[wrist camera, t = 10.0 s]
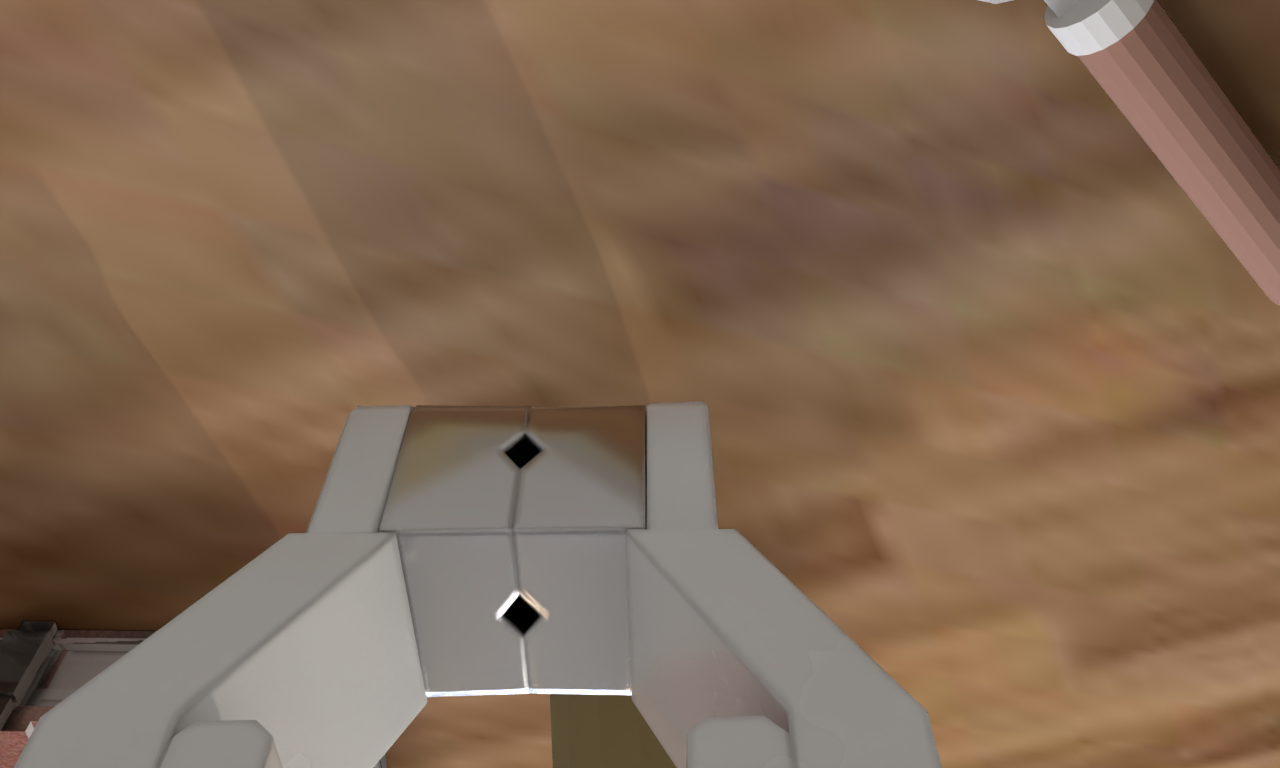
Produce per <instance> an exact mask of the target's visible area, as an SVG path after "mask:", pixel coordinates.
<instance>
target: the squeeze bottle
mask: <svg viewBox="0 0 1280 768" xmlns="http://www.w3.org/2000/svg"><path fill="white" fill-rule="evenodd" d="M550 711H551V735H552V759H553V768H676V766H675V765H674V763H673V762H672V760H671V759H670V757H669V755H668V754H667V752H666V751H665V749H664V748H663V746H662V745H661V743H660V742H659V740H658V739H657V737H656V736H655V734H654V733H653V731H652V730H651V728H650V727H649V725H648V724H647V722H646V721H645V719H644V718H643V716H642V715H641V713H640V712H639V710H638V709H637V707H636V706H635V704H634V703H633V701H632V695H594V694H550Z"/></svg>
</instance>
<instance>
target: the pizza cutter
mask: <svg viewBox="0 0 1280 768" xmlns="http://www.w3.org/2000/svg"><path fill="white" fill-rule="evenodd" d="M979 1H984V2H989V3H994V4H998V3H1003V2H1007V1H1012V0H979ZM1044 1H1045V2H1046V3H1047V7H1046V11H1045V15H1044V20H1045V22H1046V25H1047V26H1048V28H1049V29H1050V30H1051V31H1052V33H1053V34H1054V35H1055V36H1056V38H1057V39H1058V40H1059V42H1060V43H1061V44H1062V45H1063V47H1064V48H1065V49H1066V50H1067V52H1069V53H1071V54H1073V55H1075V56H1078V57H1079V59H1080V60H1081V61H1082V62H1083V64H1084V65H1085V66H1086V67H1087V69H1088V70H1089V71H1090V72H1091V74H1092V75H1093V76H1094V77H1095V79H1096V80H1097V81H1098V83H1099V84H1100V85H1101V86H1102V88H1103V89H1104V90H1105V91H1106V93H1107V94H1108V95H1109V96H1110V98H1111V99H1112V100H1113V102H1114V103H1115V104H1116V105H1117V107H1118V108H1119V109H1120V110H1121V112H1122V113H1123V114H1124V115H1125V117H1126V118H1127V119H1128V121H1129V122H1130V123H1131V124H1132V126H1133V127H1134V128H1135V129H1136V131H1137V132H1138V133H1139V134H1140V136H1141V137H1142V138H1143V139H1144V141H1145V142H1146V143H1147V145H1148V146H1149V147H1150V148H1151V150H1152V151H1153V152H1154V153H1155V155H1156V156H1157V157H1158V158H1159V160H1160V161H1161V162H1162V164H1163V165H1164V166H1165V167H1166V169H1167V170H1168V171H1169V172H1170V174H1171V175H1172V176H1173V177H1174V179H1175V180H1176V181H1177V183H1178V184H1179V185H1180V186H1181V188H1182V189H1183V190H1184V191H1185V193H1186V194H1187V195H1188V196H1189V198H1190V199H1191V200H1192V201H1193V203H1194V204H1195V205H1196V207H1197V208H1198V209H1199V210H1200V212H1201V213H1202V214H1203V215H1204V217H1205V218H1206V219H1207V220H1208V222H1209V223H1210V224H1211V226H1212V227H1213V228H1214V229H1215V231H1216V232H1217V233H1218V234H1219V236H1220V237H1221V238H1222V239H1223V241H1224V242H1225V243H1226V245H1227V246H1228V247H1229V248H1230V250H1231V251H1232V252H1233V253H1234V255H1235V256H1236V257H1237V258H1238V260H1239V261H1240V262H1241V263H1242V265H1243V266H1244V267H1245V269H1246V270H1247V271H1248V272H1249V274H1250V275H1251V276H1252V277H1253V279H1254V280H1255V281H1256V282H1257V284H1258V285H1259V286H1260V288H1261V289H1262V290H1263V291H1264V293H1265V294H1266V295H1267V296H1268V298H1269V299H1271V300H1272V301H1273V302H1275V303H1276V304H1278V305H1279V306H1280V170H1279V169H1278V167H1277V166H1276V164H1275V163H1274V162H1273V160H1272V159H1271V158H1270V156H1269V155H1268V153H1267V152H1266V151H1265V149H1264V148H1263V146H1262V145H1261V144H1260V142H1259V141H1258V140H1257V138H1256V137H1255V135H1254V134H1253V133H1252V131H1251V130H1250V129H1249V127H1248V126H1247V124H1246V123H1245V122H1244V120H1243V119H1242V118H1241V116H1240V115H1239V113H1238V112H1237V111H1236V109H1235V108H1234V106H1233V105H1232V104H1231V102H1230V101H1229V100H1228V98H1227V97H1226V95H1225V94H1224V93H1223V91H1222V90H1221V89H1220V87H1219V86H1218V84H1217V83H1216V82H1215V80H1214V79H1213V77H1212V76H1211V75H1210V73H1209V72H1208V71H1207V69H1206V68H1205V66H1204V65H1203V64H1202V62H1201V61H1200V60H1199V58H1198V57H1197V55H1196V54H1195V53H1194V51H1193V50H1192V49H1191V47H1190V46H1189V44H1188V43H1187V42H1186V40H1185V39H1184V37H1183V36H1182V35H1181V33H1180V32H1179V31H1178V29H1177V28H1176V26H1175V25H1174V24H1173V22H1172V21H1171V20H1170V18H1169V17H1168V15H1167V14H1166V13H1165V11H1164V10H1163V9H1162V7H1161V6H1160V4H1159V3H1158V2H1157V0H1044Z"/></svg>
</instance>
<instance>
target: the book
mask: <svg viewBox="0 0 1280 768" xmlns="http://www.w3.org/2000/svg"><path fill="white" fill-rule="evenodd" d="M155 632H156V631H121V630H58V628H57V626H56V623H55V621H22V622H21V624H20V625H19V627H18V628H17V629H0V768H14V766H15V764H16V762H17V760H18V759H19V757H20V755H21V753H22V751H23V749H24V747H25V745H26V744H27V742H28V740H29V738H30V736H31V734H32V732H33V730H34V729H35V727H36V725H37V723H38V721H39V719H40V717H41V716H43V715H44V714H45V713H47V712H48V711H49V710H51V709H52V708H53V707H55V706H56V705H57V704H59V703H60V702H61V701H63V700H64V699H66V698H67V697H68V696H70V695H71V694H72V693H74V692H75V691H76V690H78V689H79V688H80V687H82V686H83V685H84V684H86V683H87V682H89V681H90V680H91V679H93V678H94V677H95V676H97V675H98V674H99V673H101V672H102V671H103V670H105V669H106V668H107V667H109V666H110V665H111V664H113V663H114V662H116V661H117V660H118V659H120V658H121V657H122V656H124V655H125V654H126V653H128V652H129V651H130V650H132V649H133V648H134V647H136V646H137V645H139V644H140V643H141V642H143V641H144V640H145V639H147V638H148V637H149V636H151V635H152V634H153V633H155ZM374 768H388V767H387V762H386V756H385V754H384V756H383V757H382V758H381V759H380V760H379V762H378V763H377V764H376V765H375V766H374Z"/></svg>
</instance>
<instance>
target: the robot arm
mask: <svg viewBox="0 0 1280 768" xmlns="http://www.w3.org/2000/svg"><path fill="white" fill-rule="evenodd" d="M646 445H647V458H646ZM524 693H538V694H594V695H632V701H633V703H634V704H635V706H636V707H637V709H638V710H639V712H640V713H641V715H642V716H643V718H644V719H645V721H646V722H647V724H648V725H649V727H650V728H651V730H652V731H653V733H654V734H655V736H656V737H657V739H658V740H659V742H660V743H661V745H662V746H663V748H664V749H665V751H666V752H667V754H668V755H669V757H670V759H671V760H672V762H673V763H674V765H675V766H676V768H942V767H941V763H940V759H939V755H938V752H937V748H936V744H935V740H934V736H933V732H932V728H931V724H930V720H929V716H928V712H927V710H925V709H924V708H923V707H922V706H921V705H920V704H919V703H918V702H917V701H916V700H915V699H914V698H913V697H912V696H911V695H910V694H909V693H908V692H907V691H906V690H904V689H903V688H902V687H901V686H900V685H899V684H898V683H897V682H896V681H895V680H894V679H893V678H892V677H891V676H890V675H889V674H888V673H887V672H886V671H884V670H883V669H882V668H881V667H880V666H879V665H878V664H877V663H876V662H875V661H874V660H873V659H872V658H871V657H870V656H869V655H868V654H867V653H866V652H864V651H863V650H862V649H861V648H860V647H859V646H858V645H857V644H856V643H855V642H854V641H853V640H852V639H851V638H850V637H849V636H848V635H847V634H846V633H845V632H843V631H842V630H841V629H840V628H839V627H838V626H837V625H836V624H835V623H834V622H833V621H832V620H831V619H830V618H829V617H828V616H827V615H826V614H825V613H823V612H822V611H821V610H820V609H819V608H818V607H817V606H816V605H815V604H814V603H813V602H812V601H811V600H810V599H809V598H808V597H807V596H806V595H805V594H804V593H802V592H801V591H800V590H799V589H798V588H797V587H796V586H795V585H794V584H793V583H792V582H791V581H790V580H789V579H788V578H787V577H786V576H785V575H784V574H782V573H781V572H780V571H779V570H778V569H777V568H776V567H775V566H774V565H773V564H772V563H771V562H770V561H769V560H768V559H767V558H766V557H765V556H764V555H762V554H761V553H760V552H759V551H758V550H757V549H756V548H755V547H754V546H753V545H752V544H751V543H750V542H749V541H748V540H747V539H746V538H745V537H744V536H743V535H741V534H740V533H739V532H738V531H737V530H736V529H718V520H717V508H716V496H715V484H714V472H713V460H712V447H711V435H710V423H709V411H708V407H707V405H706V404H705V402H704V401H699V402H674V403H650V404H647V413H646V412H645V406H590V407H535V408H532V407H531V406H434V405H417V406H416V407H413V406H410V405H403V406H357V407H356V408H355V409H354V410H353V411H352V412H351V413H350V414H349V415H348V416H347V419H346V422H345V425H344V428H343V430H342V433H341V436H340V439H339V442H338V445H337V447H336V450H335V453H334V456H333V459H332V461H331V464H330V467H329V470H328V473H327V476H326V478H325V481H324V484H323V487H322V490H321V492H320V495H319V498H318V501H317V504H316V507H315V509H314V512H313V515H312V518H311V521H310V523H309V526H308V529H307V532H306V533H289V534H287V535H286V536H284V537H283V538H282V539H280V540H279V541H278V542H276V543H275V544H274V545H272V546H271V547H270V548H268V549H267V550H266V551H264V552H263V553H261V554H260V555H259V556H257V557H256V558H255V559H253V560H252V561H251V562H249V563H248V564H247V565H245V566H244V567H243V568H241V569H240V570H239V571H237V572H236V573H234V574H233V575H232V576H230V577H229V578H228V579H226V580H225V581H224V582H222V583H221V584H220V585H218V586H217V587H216V588H214V589H213V590H211V591H210V592H209V593H207V594H206V595H205V596H203V597H202V598H201V599H199V600H198V601H197V602H195V603H194V604H193V605H191V606H190V607H189V608H187V609H186V610H184V611H183V612H182V613H180V614H179V615H178V616H176V617H175V618H174V619H172V620H171V621H170V622H168V623H167V624H166V625H164V626H163V627H161V628H160V629H159V630H157V631H156V632H155V633H153V634H152V635H151V636H149V637H148V638H147V639H145V640H144V641H143V642H141V643H140V644H139V645H137V646H136V647H134V648H133V649H132V650H130V651H129V652H128V653H126V654H125V655H124V656H122V657H121V658H120V659H118V660H117V661H116V662H114V663H113V664H111V665H110V666H109V667H107V668H106V669H105V670H103V671H102V672H101V673H99V674H98V675H97V676H95V677H94V678H93V679H91V680H90V681H89V682H87V683H86V684H84V685H83V686H82V687H80V688H79V689H78V690H76V691H75V692H74V693H72V694H71V695H70V696H68V697H67V698H66V699H64V700H63V701H61V702H60V703H59V704H57V705H56V706H55V707H53V708H52V709H51V710H49V711H48V712H47V713H45V714H44V715H43V716H41V717H40V719H39V721H38V723H37V725H36V727H35V729H34V730H33V732H32V734H31V736H30V738H29V740H28V742H27V744H26V745H25V747H24V749H23V751H22V753H21V755H20V757H19V759H18V760H17V762H16V764H15V766H14V768H374V766H375V765H376V764H377V763H378V762H379V760H380V759H381V758H382V757H383V756H384V754H385V753H386V752H387V751H388V750H389V748H390V747H391V746H392V745H393V744H394V742H395V741H396V740H397V739H398V738H399V736H400V735H401V734H402V733H403V732H404V730H405V729H406V728H407V727H408V726H409V724H410V723H411V722H412V721H413V720H414V718H415V717H416V716H417V715H418V714H419V712H420V711H421V710H422V709H423V707H424V706H425V705H426V704H427V698H426V697H440V696H468V695H496V694H524Z"/></svg>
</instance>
